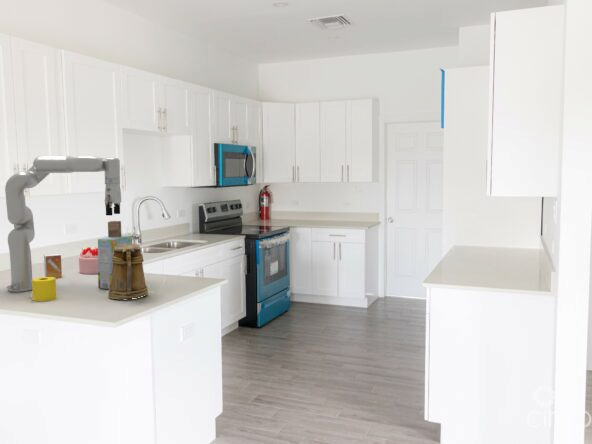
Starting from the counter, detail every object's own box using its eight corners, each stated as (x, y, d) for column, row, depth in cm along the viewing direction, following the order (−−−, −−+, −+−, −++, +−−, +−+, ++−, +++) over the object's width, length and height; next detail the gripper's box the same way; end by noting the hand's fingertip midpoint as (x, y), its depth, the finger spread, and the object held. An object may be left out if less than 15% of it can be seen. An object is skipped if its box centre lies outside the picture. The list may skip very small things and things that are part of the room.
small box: (46, 279, 295) (45, 256, 294) (44, 277, 300) (43, 254, 299) (62, 277, 299) (61, 254, 298) (60, 275, 305) (59, 253, 303)
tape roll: (33, 297, 253) (32, 278, 252) (56, 295, 257) (55, 276, 256) (32, 302, 244) (31, 282, 243) (56, 299, 248) (55, 280, 247)
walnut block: (117, 237, 275) (117, 222, 274) (108, 237, 275) (107, 222, 274) (121, 236, 280) (120, 221, 279) (112, 236, 280) (111, 221, 279)
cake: (75, 270, 320) (74, 247, 318) (108, 267, 332) (108, 244, 330) (85, 276, 304) (84, 251, 303) (119, 271, 316) (118, 248, 315)
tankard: (144, 290, 267) (142, 241, 265) (152, 300, 246) (151, 247, 243) (106, 293, 259) (104, 243, 257) (111, 304, 238) (109, 250, 236)
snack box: (113, 289, 268) (111, 239, 266) (97, 289, 270) (95, 239, 267) (134, 281, 289) (132, 234, 287) (119, 280, 291) (118, 234, 289)
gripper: (112, 182, 265) (113, 216, 267) (126, 181, 283) (126, 213, 284) (98, 181, 266) (98, 215, 268) (112, 181, 283) (113, 213, 285)
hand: (113, 214), depth 276 cm, fingers open, 9 cm apart
